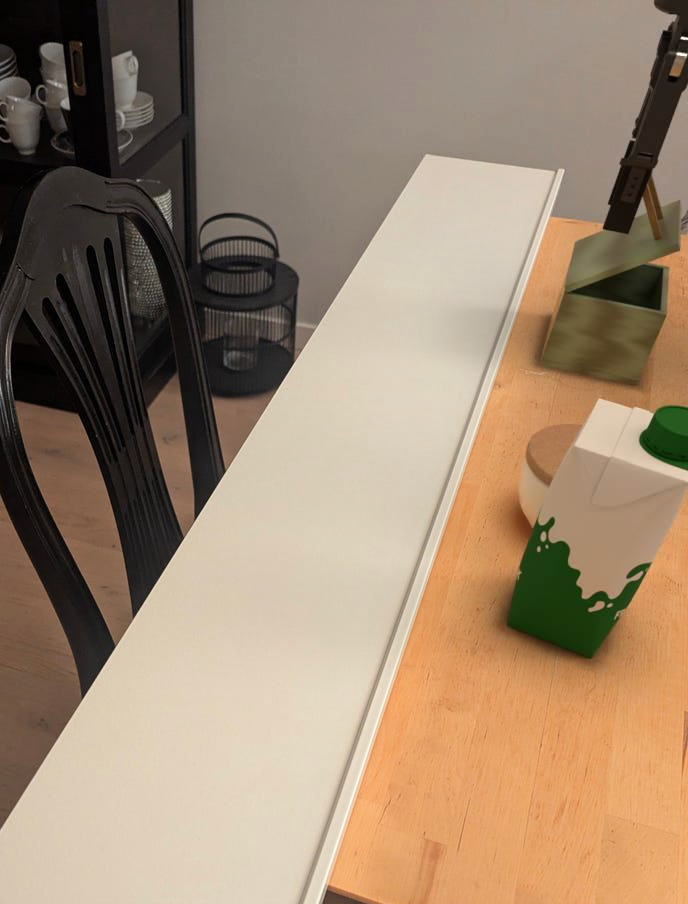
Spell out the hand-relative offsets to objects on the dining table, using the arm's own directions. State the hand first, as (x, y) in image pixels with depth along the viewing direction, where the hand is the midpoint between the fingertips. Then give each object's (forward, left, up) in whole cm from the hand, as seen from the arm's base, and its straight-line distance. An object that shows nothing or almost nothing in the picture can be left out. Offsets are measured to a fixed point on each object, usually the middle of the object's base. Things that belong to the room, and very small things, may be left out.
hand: (618, 217), depth 100 cm
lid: (-2, 0, -3) cm, 4 cm away
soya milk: (-3, +50, -15) cm, 52 cm away
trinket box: (-2, +37, -15) cm, 40 cm away
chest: (-2, 0, -15) cm, 15 cm away
